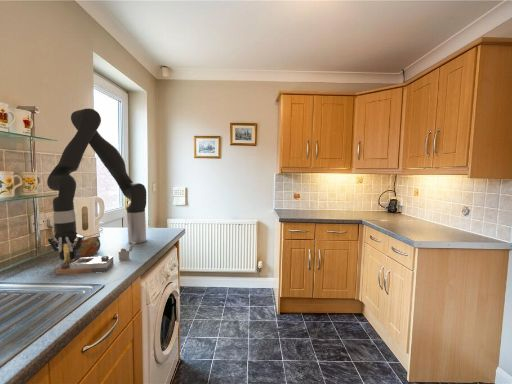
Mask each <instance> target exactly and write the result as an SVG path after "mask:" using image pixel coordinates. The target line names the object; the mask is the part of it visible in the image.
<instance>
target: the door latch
mask: <svg viewBox="0 0 512 384" xmlns="http://www.w3.org/2000/svg"><path fill="white" fill-rule="evenodd" d="M114 265H115V263H114V256H113V255H103V256H88V257H82V258H79V259H75V261H73V262H72V263H69V262H67V263H64V262H63V263H61V266H60V267H58V268H57V269H55V270H54V271H55V275H56V274H66V275H81V273H84V274H97V273H96V272H102V273H107V272H108V271H109V270H110V269H111V268H112V267H113V266H114Z"/></svg>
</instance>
